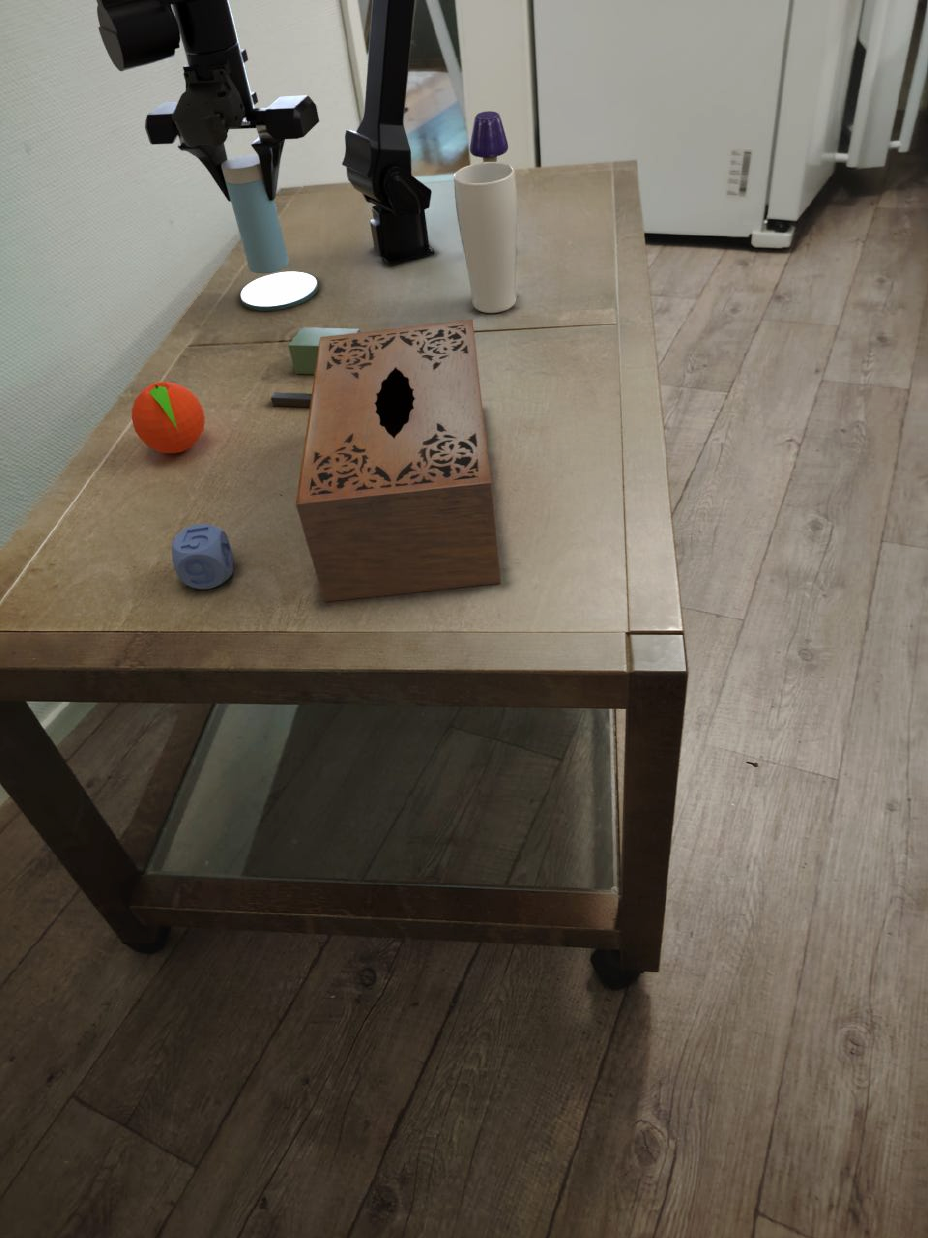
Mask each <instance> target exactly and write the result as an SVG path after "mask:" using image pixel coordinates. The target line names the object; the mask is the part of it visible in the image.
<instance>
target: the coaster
mask: <svg viewBox="0 0 928 1238" xmlns="http://www.w3.org/2000/svg"><path fill="white" fill-rule="evenodd" d="M318 289H319V284H318V280H317V279H316V277H315V276H313V274H310V273H307V272H302V271H281V272H280V271H279V272H273V273H269V274H267V275H263V276H261V277H257V278H256V279H255V280H253V281H251V282H249V283H248V284H246V285H245V286H244V287H243V288H242V290H241V292H240V297H239V298H240V300H241V303H242V304H243V306H244V307H246V308H248V309H251V310H254V311H261V312H273V311H281V310H285V309H290V308H293V307H296V306H298V305H301V304H303V303H305V302H307V301H309V300H310V299H311V298H312V297H314V296H315V295H316V293H317V292H318Z"/></svg>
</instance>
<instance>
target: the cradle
mask: <svg viewBox="0 0 928 1238" xmlns="http://www.w3.org/2000/svg"><path fill="white" fill-rule="evenodd" d="M358 332H361V329H360V328H347V327H346V328H345V327H344V328H341V327H300V329H298V332H296V334H295V335H294V337H293V338H292V340H291V341H290V342H289V343H288V346H287V347H288V351H289V354H290V359H291V361H292V365H293V369H294V373H295V374H297V375H315V369H316V362H317V355H318V348H319V341H320V337H324V336H333V335H341V334H350V333H358ZM311 397H312V393H305V392H282V391H281V392H280V391H279V392H278V391H275V392H274V393H273V394H272V395H271V397H270V400H271V403H272V406H273V407H291V408H293V407H294V408H310V403H311Z"/></svg>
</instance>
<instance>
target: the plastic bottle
mask: <svg viewBox="0 0 928 1238" xmlns="http://www.w3.org/2000/svg"><path fill="white" fill-rule="evenodd" d="M221 167H222V171H223V174H224V178H225V182H226V185H227V189H228V193H229V196H230V200H231V202H230V203H231V207H232V211H233V215H234V219H235V222H236V226H237V229H238V233H239V236H240V241H241V244H242V247H243V251H244V256H245V258H246V262H247V266H248V269H249V271H250V272H252V273H253V274H272V273H276V272H278V271H280V270H283V269H284V268H286V267H287V266H288V265H289V264H290V259H289V255H288V251H287V247H286V241H285V238H284V233H283V230H282V225H281V221H280V217H279V212H278V208H277V204H276V201H275V200H276V199H274V200H273V201H270V200H269V198H268V195H267V192H266V189H265V184H264V179H263V175H262V170H261V165H260V160H259V156H258V154H257V153H256V154H255V153H254V154H253V153H252V154H242V155H238V156H234V157H230V158H228V160H226V161H225V162H223V163H222V165H221Z"/></svg>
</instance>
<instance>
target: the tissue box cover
mask: <svg viewBox="0 0 928 1238" xmlns="http://www.w3.org/2000/svg"><path fill="white" fill-rule="evenodd" d="M475 337H476V336H475V327H474V320H473V318H469V319H461V320H452V321H444V322H443V321H442V322H436V323H428V324H427V323H426V324H418V325H411V326H401V327H394V328H384V329H377V330H367V331H360V332H358V333H350V334H341V335H333V336H324V337H320V341H319V348H318V355H317V362H316V369H315V374H314V377H313V382H312V383H313V384H312V390H311V394H312V397H311V403H310V407H309V411H308V416H307V417H308V418H307V425H306V431H305V438H304V446H303V452H302V460H301V467H300V473H299V480H298V487H297V493H296V501H295V506H296V510H297V514H298V516H299V520H300V523H301V527H302V531H303V534H304V537H305V540H306V544H307V547H308V551H309V555H310V557H311V560H312V563H313V569H314V571H315V575H316V578H317V581H318V584H319V587H320V592H321V595H322V598H323V601H324V603H327V602H335V601H346V600H353V599H354V600H355V599H362V598H363V599H364V598H372V597H373V598H374V597H383V596H392V595H402V594H403V595H404V594H410V593H411V594H412V593H420V592H431V591H441V590H450V589H457V588H469V587H476V586H487V585H496V584H497V585H498V584H502V581H501V571H500V570H501V569H500V562H499V561H500V560H499V559H500V558H499V550H498V539H497V531H496V529H497V528H496V521H495V520H496V519H495V509H494V499H493V489H492V480H491V471H490V462H489V452H488V443H487V435H486V427H485V417H484V408H483V400H482V390H481V382H480V371H479V364H478V363H479V362H478V357H477V356H478V355H477V346H476V338H475Z"/></svg>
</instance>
